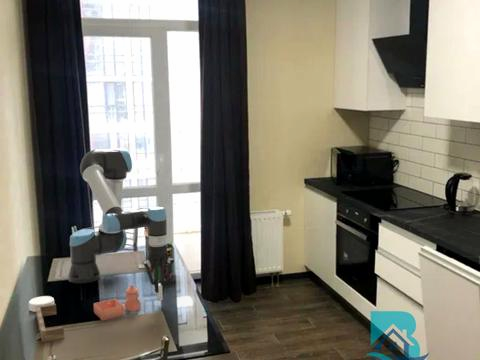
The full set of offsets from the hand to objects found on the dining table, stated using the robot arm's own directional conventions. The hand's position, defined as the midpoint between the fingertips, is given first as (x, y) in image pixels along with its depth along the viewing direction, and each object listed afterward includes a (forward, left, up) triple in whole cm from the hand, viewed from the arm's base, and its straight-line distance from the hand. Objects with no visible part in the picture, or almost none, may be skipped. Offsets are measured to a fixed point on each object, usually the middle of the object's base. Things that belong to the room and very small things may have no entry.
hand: (159, 299), depth 218 cm
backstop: (+2, -44, -3) cm, 44 cm away
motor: (-35, +12, -3) cm, 37 cm away
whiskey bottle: (-50, +13, -3) cm, 52 cm away
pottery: (-1, -17, -3) cm, 17 cm away
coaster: (-20, -45, -3) cm, 49 cm away
